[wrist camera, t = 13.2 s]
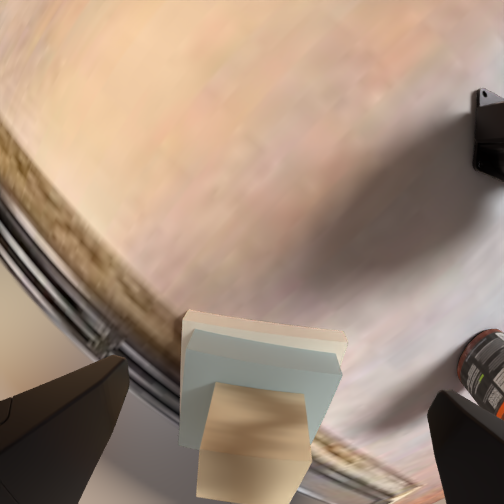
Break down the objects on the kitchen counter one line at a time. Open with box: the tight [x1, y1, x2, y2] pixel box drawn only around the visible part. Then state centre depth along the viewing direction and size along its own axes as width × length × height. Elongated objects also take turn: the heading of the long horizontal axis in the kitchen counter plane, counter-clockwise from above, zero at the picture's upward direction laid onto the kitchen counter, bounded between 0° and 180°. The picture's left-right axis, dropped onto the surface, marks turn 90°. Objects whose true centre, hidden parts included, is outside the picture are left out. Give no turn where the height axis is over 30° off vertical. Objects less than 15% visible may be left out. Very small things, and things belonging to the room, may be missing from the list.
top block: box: [178, 329, 342, 450], centre depth 20 cm, size 10×10×2 cm
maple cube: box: [196, 382, 312, 504], centre depth 16 cm, size 6×6×6 cm
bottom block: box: [180, 310, 348, 410], centre depth 22 cm, size 11×11×2 cm
